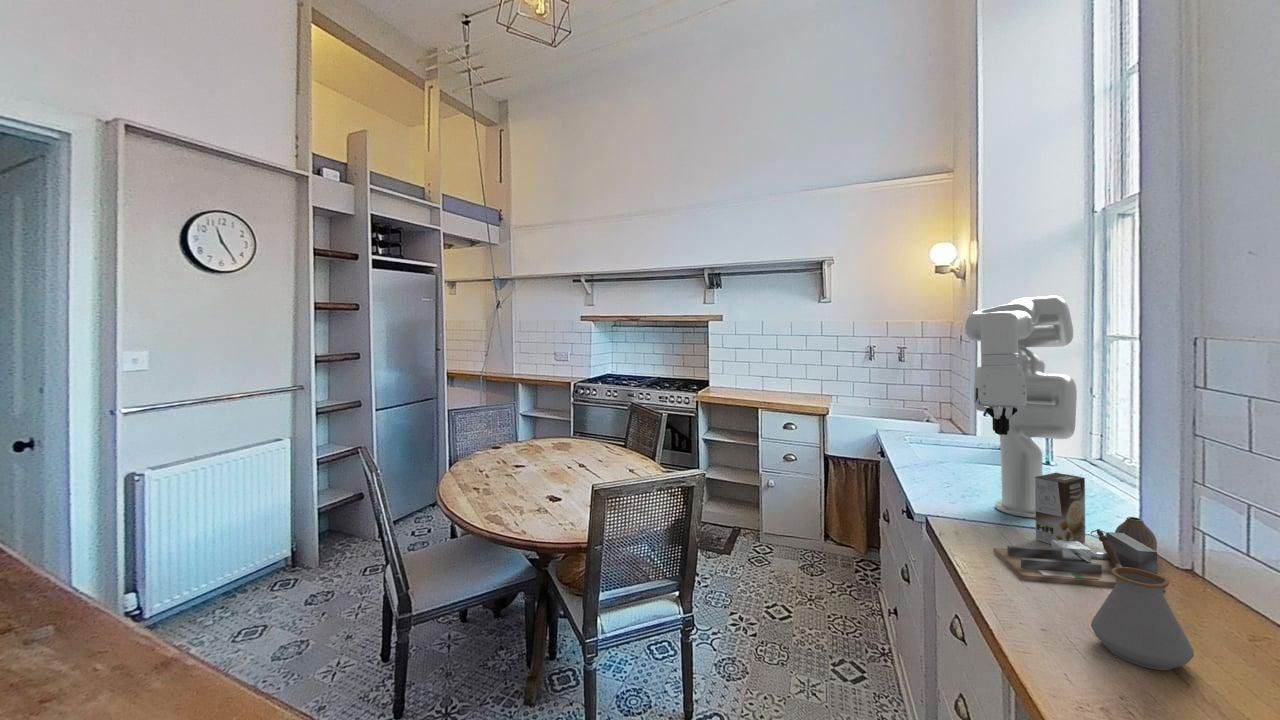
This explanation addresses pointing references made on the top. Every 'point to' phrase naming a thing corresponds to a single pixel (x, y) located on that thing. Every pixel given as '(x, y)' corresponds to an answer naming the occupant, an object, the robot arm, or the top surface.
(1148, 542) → the vase
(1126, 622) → the coffee pot
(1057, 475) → the coffee box
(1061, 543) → the grey block with rod
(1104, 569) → the bench
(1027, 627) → the top surface
